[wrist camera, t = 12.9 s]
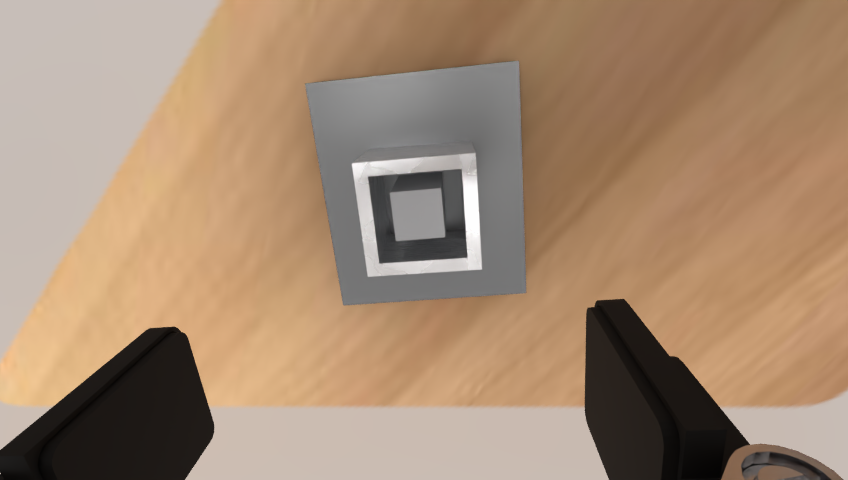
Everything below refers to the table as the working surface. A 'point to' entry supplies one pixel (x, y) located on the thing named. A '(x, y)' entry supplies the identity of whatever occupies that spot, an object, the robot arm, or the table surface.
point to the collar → (421, 254)
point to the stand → (425, 174)
